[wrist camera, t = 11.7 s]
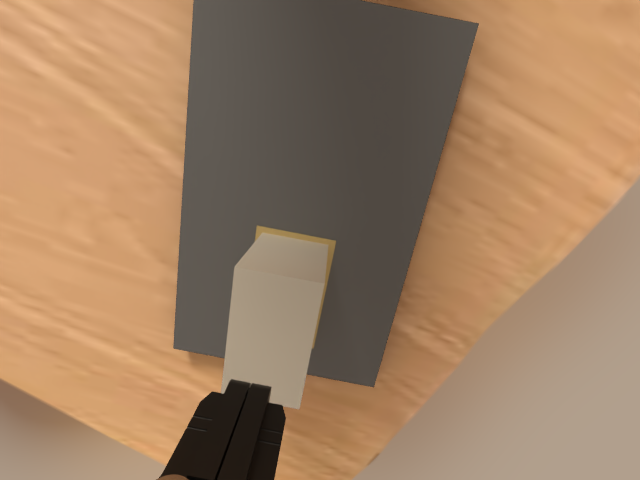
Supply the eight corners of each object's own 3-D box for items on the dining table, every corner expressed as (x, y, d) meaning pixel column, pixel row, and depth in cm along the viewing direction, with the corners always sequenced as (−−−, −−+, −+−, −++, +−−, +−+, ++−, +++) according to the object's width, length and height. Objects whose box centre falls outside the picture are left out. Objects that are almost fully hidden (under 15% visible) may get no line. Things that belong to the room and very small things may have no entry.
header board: (207, -18, 17) (148, -89, 12) (467, 33, 17) (524, -15, 12) (183, 335, 24) (138, 392, 18) (371, 372, 24) (381, 439, 19)
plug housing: (262, 232, 19) (234, 266, 14) (328, 244, 19) (324, 283, 14) (249, 332, 22) (220, 394, 16) (309, 343, 22) (299, 409, 16)
